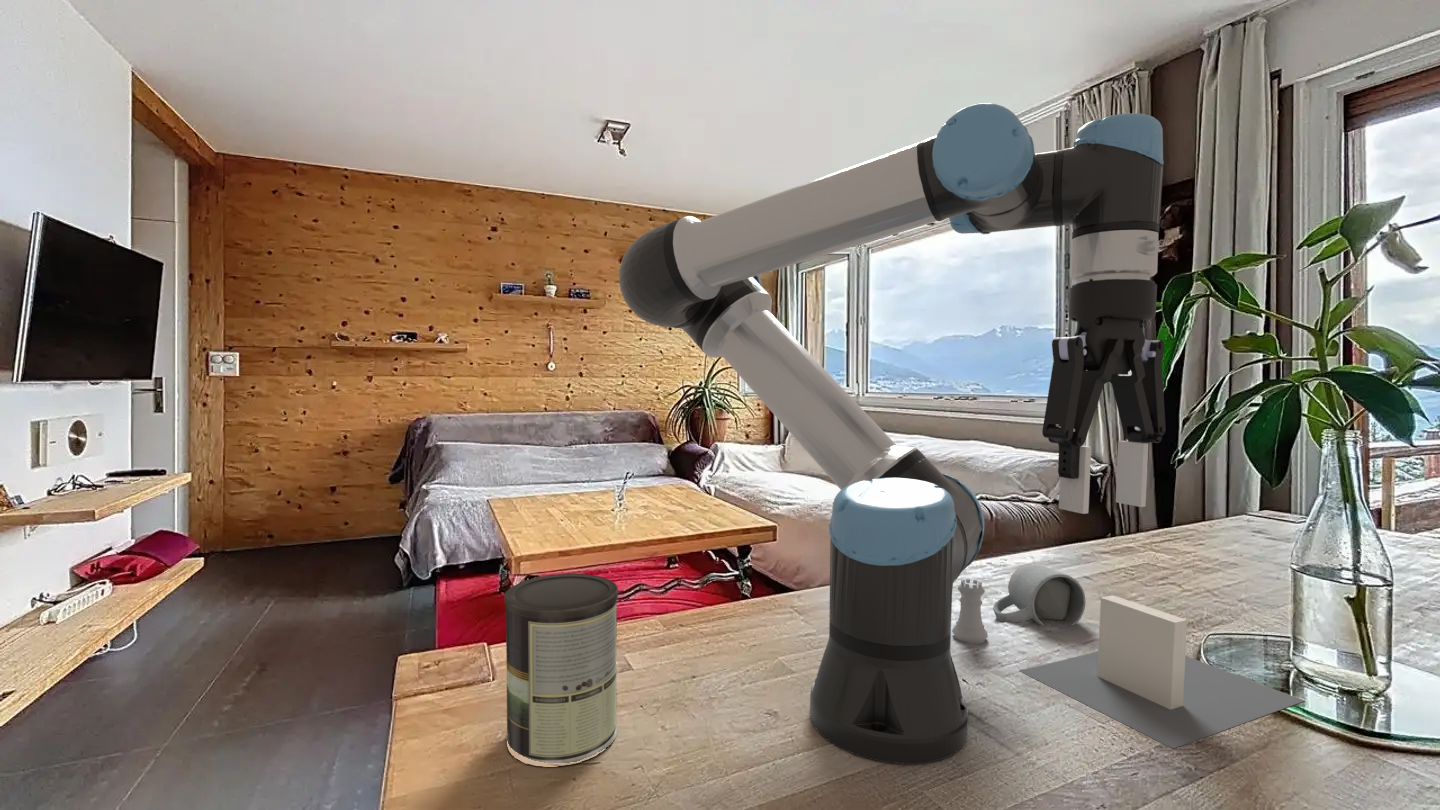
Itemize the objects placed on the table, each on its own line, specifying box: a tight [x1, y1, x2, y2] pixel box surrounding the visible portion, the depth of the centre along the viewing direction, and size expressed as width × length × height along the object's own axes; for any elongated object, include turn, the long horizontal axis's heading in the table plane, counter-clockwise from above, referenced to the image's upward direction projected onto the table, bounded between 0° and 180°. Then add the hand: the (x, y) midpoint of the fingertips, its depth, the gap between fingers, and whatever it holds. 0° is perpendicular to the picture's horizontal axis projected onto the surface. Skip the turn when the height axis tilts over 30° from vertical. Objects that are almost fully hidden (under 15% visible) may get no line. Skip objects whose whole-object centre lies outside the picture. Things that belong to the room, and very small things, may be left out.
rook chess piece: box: [951, 578, 989, 645], centre depth 86 cm, size 4×4×8 cm
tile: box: [1097, 594, 1188, 710], centre depth 72 cm, size 2×8×9 cm, turn 25°
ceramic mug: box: [992, 564, 1086, 627], centre depth 94 cm, size 11×8×8 cm
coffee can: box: [503, 573, 619, 763], centre depth 63 cm, size 10×10×14 cm
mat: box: [1019, 650, 1305, 750], centre depth 73 cm, size 22×17×1 cm
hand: (1102, 507), depth 68 cm, fingers open, 8 cm apart
